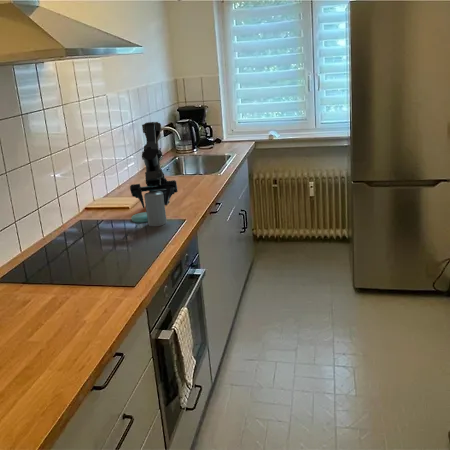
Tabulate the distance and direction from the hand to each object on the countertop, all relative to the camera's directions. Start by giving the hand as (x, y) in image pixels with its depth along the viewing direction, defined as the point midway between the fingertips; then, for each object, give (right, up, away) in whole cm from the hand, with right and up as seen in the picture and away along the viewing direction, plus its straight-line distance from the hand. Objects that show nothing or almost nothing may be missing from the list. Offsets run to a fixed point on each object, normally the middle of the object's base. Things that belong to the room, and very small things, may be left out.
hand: (155, 206), depth 205 cm
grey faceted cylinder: (+1, -7, +3) cm, 7 cm away
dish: (-6, -5, +11) cm, 13 cm away
